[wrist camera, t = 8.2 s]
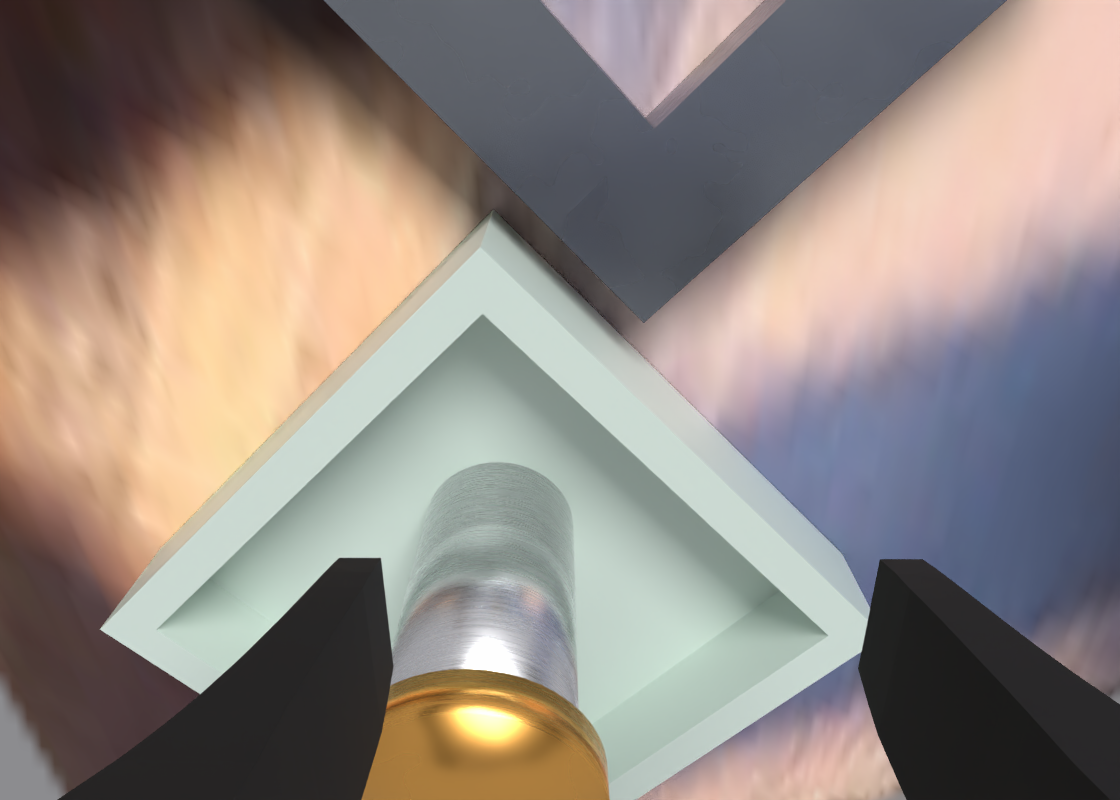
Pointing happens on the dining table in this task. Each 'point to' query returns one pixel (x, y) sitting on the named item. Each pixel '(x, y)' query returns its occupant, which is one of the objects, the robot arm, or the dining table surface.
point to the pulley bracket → (659, 116)
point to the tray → (565, 459)
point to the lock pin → (489, 652)
